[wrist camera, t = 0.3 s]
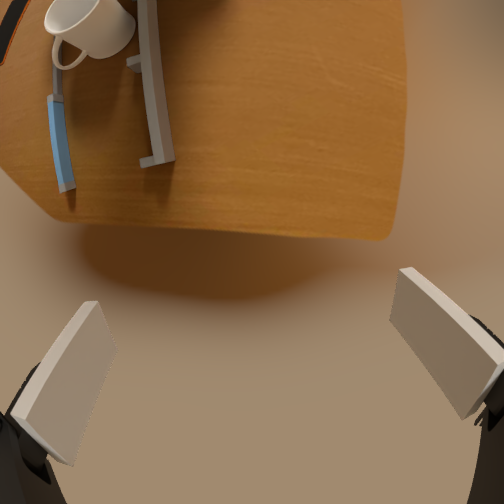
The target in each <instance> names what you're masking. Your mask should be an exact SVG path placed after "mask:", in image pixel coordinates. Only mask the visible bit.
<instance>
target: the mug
mask: <svg viewBox="0 0 504 504" xmlns="http://www.w3.org/2000/svg"><path fill="white" fill-rule="evenodd" d="M44 25H45V29H46V30H47V31H48V32H49V33H51V34H53V35H55V36H56V37H55V41H54V44H53V49H52V59H53V63H54V64H55V66H56V67H57V68H59V69H62V70H68V69H71V68H73V67H75V66H77V65H78V64H79V63H80V62H81V61H82V60H83V59H84V58H85V57H86V56H87V55H89V56H90V57H92V58H95V59H103V58H107V57H110V56H113V55H115V54H116V53H118V52H119V51H121V50H122V49H123V48H124V47H125V46H126V45H127V44H128V43H129V42H130V40H131V39H132V37H133V35H134V32H135V28H136V23H135V19H134V18H133V16H132V15H131V14H129V13H128V12H126V11H125V9H124V8H123V7H122V6H121V5H120V3H119V2H118V1H117V0H54V1H53V3H52V4H51V6H50V7H49V9H48V11H47V13H46V16H45V21H44ZM62 40H64V41H66V42H68V43H70V44H72V45H74V46H76V47H77V48H79V49H81V50H83V51H82V53H81V55H80V56H79V57H78V58H77V59H76V60H75V61H74V62H73V63H72V64H70V65H68V66H62V65H60V63H59V61H58V50H59V47H60V44H61V42H62Z"/></svg>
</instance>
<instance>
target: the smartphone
mask: <svg viewBox="0 0 504 504" xmlns="http://www.w3.org/2000/svg"><path fill="white" fill-rule="evenodd" d="M29 3H30V0H13V1H12V2H11V4H10V6H9V8H8V10H7V12H6V14H5V16H4V18H3V20H2V22H1V25H0V65H2V64H3V63H4V61H5V59H6V56H7V53H8V50H9V47H10V45H11V42H12V39H13V37H14V34H15V32H16V30H17V27H18V25H19V23H20V21H21V19H22V17H23V14H24V12H25V11H26V9H27V7H28V5H29Z"/></svg>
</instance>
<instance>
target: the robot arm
mask: <svg viewBox="0 0 504 504" xmlns="http://www.w3.org/2000/svg"><path fill="white" fill-rule="evenodd" d="M390 321H391V323H392V324H393V325H394V327H395V328H396V329H397V330H398V332H399V333H400V334H401V336H402V337H403V338H404V339H405V341H406V342H407V343H408V345H409V346H410V347H411V349H412V350H413V351H414V352H415V354H416V355H417V356H418V358H419V359H420V361H421V362H422V363H423V364H424V366H425V367H426V369H427V370H428V372H429V373H430V374H431V376H432V377H433V378H434V380H435V381H436V382H437V384H438V386H439V387H440V388H441V390H442V391H443V392H444V394H445V396H446V397H447V399H448V400H449V401H450V403H451V404H452V406H453V407H454V409H455V410H456V412H457V413H458V415H459V416H460V418H461V420H463V419H465V418H467V417H469V416H470V415H472V414H474V413H475V412H476V411H477V410H478V408H479V407H480V405H481V404H482V403H483V401H484V402H485V404H486V405H487V406H486V407H485V409H484V410H483V411H482V413H481V414H480V415H479V416H478V418H477V419H476V420H475V423H474V425H475V426H476V425H477V423H479V421H480V420H481V419H482V418H483V420H482V422H481V424H480V425H479V426H482V431H481V439H480V447H479V453H478V459H477V464H476V469H475V474H474V478H473V483H472V487H471V491H470V494H469V498H468V501H467V504H504V343H503V342H502V341H501V340H500V339H499V338H497V336H496V335H493V332H492V331H490V330H489V329H487V327H486V326H485V325H484V324H483V323H482V322H481V321H480V320H479V319H477V318H475V317H473V316H471V315H469V314H467V313H466V312H464V311H463V310H462V309H461V308H460V307H459V306H458V305H457V304H456V303H454V302H453V301H452V300H451V299H450V298H449V297H447V296H446V295H445V294H444V293H443V292H442V291H440V290H439V289H438V288H437V287H436V286H434V285H433V284H432V283H431V282H430V281H428V280H427V279H426V278H425V277H424V276H422V275H421V274H420V273H418V272H417V271H416V270H415V269H414V268H412V267H409V268H404V269H399V271H398V277H397V283H396V289H395V295H394V300H393V305H392V310H391V315H390ZM117 351H118V348H117V346H116V344H115V342H114V340H113V337H112V335H111V332H110V330H109V328H108V325H107V322H106V320H105V317H104V315H103V312H102V310H101V307H100V304H99V301H85V302H84V303H83V304H82V306H81V307H80V309H79V310H78V311H77V312H76V314H75V315H74V316H73V318H72V319H71V320H70V322H69V323H68V324H67V326H66V327H65V328H64V330H63V331H62V332H61V334H60V335H59V337H58V338H57V339H56V341H55V342H54V344H53V345H52V347H51V348H50V350H49V351H48V352H47V354H46V355H45V357H44V358H43V360H42V361H41V362H40V363H39V364H38V365H37V366H35V367H34V368H33V369H32V370H31V371H30V373H29V375H28V376H27V378H26V381H24V383H23V384H22V386H21V388H20V389H19V391H18V392H17V394H16V396H15V398H14V399H13V401H12V403H11V405H10V406H9V408H8V410H7V412H6V413H5V415H3V414H2V413H1V412H0V504H67V503H66V501H65V499H64V497H63V494H62V493H61V490H60V487H59V485H58V482H57V480H56V478H55V475H54V472H53V470H52V467H51V464H50V462H49V461H48V460H47V459H46V457H47V454H49V455H51V456H52V457H53V458H54V459H55V460H56V461H58V462H60V463H63V464H66V465H70V466H74V462H75V459H76V456H77V453H78V450H79V447H80V444H81V441H82V438H83V435H84V432H85V429H86V427H87V424H88V421H89V419H90V416H91V413H92V410H93V408H94V405H95V403H96V400H97V398H98V395H99V393H100V390H101V388H102V386H103V383H104V381H105V378H106V376H107V374H108V371H109V369H110V367H111V364H112V362H113V360H114V357H115V355H116V353H117Z"/></svg>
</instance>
